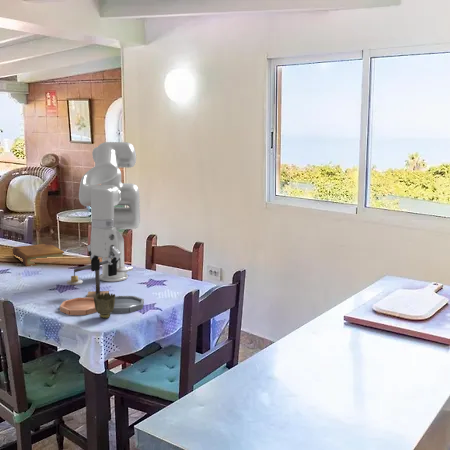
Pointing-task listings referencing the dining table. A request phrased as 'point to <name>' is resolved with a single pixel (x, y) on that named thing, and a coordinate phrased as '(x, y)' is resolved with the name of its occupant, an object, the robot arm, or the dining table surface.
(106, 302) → the cup
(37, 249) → the diary
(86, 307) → the dish terracotta
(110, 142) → the robot arm
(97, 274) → the balance
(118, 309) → the dish slate
